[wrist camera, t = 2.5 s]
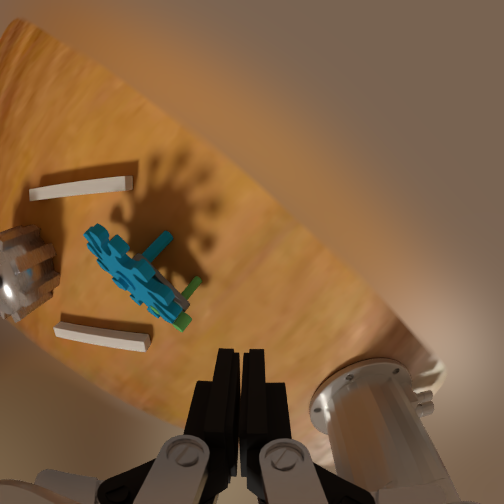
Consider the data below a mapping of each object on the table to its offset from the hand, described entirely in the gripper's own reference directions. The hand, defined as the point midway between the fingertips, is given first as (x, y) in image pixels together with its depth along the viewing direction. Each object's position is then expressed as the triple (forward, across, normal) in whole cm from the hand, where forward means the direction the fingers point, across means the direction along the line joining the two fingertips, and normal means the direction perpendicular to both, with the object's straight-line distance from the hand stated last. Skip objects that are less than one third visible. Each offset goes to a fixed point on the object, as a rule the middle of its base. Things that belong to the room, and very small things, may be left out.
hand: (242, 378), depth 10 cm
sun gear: (+14, +24, +1) cm, 28 cm away
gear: (+15, +9, 0) cm, 17 cm away
